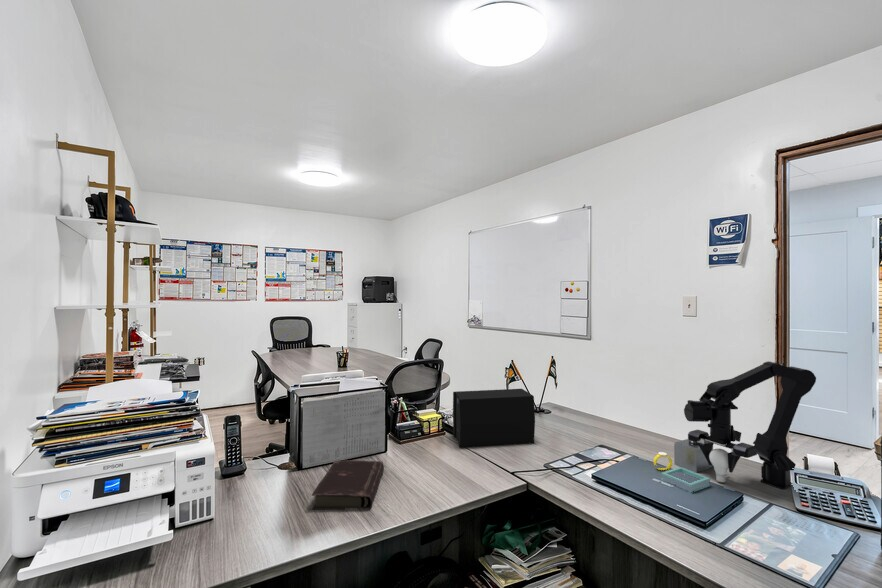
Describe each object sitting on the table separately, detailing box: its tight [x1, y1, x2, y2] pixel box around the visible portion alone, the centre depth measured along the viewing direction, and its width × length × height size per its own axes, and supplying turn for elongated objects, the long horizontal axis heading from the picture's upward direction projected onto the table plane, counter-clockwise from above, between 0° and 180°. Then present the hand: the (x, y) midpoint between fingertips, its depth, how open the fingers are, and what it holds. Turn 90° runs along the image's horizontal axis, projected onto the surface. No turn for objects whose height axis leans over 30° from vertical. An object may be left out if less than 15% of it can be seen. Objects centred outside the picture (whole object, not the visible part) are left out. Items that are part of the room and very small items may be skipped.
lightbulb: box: [709, 448, 729, 484], centre depth 135 cm, size 6×6×11 cm
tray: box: [660, 466, 711, 494], centre depth 134 cm, size 10×10×2 cm
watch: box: [653, 451, 673, 472], centre depth 144 cm, size 6×3×6 cm, turn 90°
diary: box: [311, 459, 385, 511], centre depth 131 cm, size 19×25×5 cm
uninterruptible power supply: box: [452, 388, 536, 449], centre depth 176 cm, size 16×34×20 cm, turn 99°
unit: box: [673, 438, 714, 474], centre depth 148 cm, size 8×10×9 cm
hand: (720, 468), depth 135 cm, fingers closed on lightbulb, 6 cm apart
